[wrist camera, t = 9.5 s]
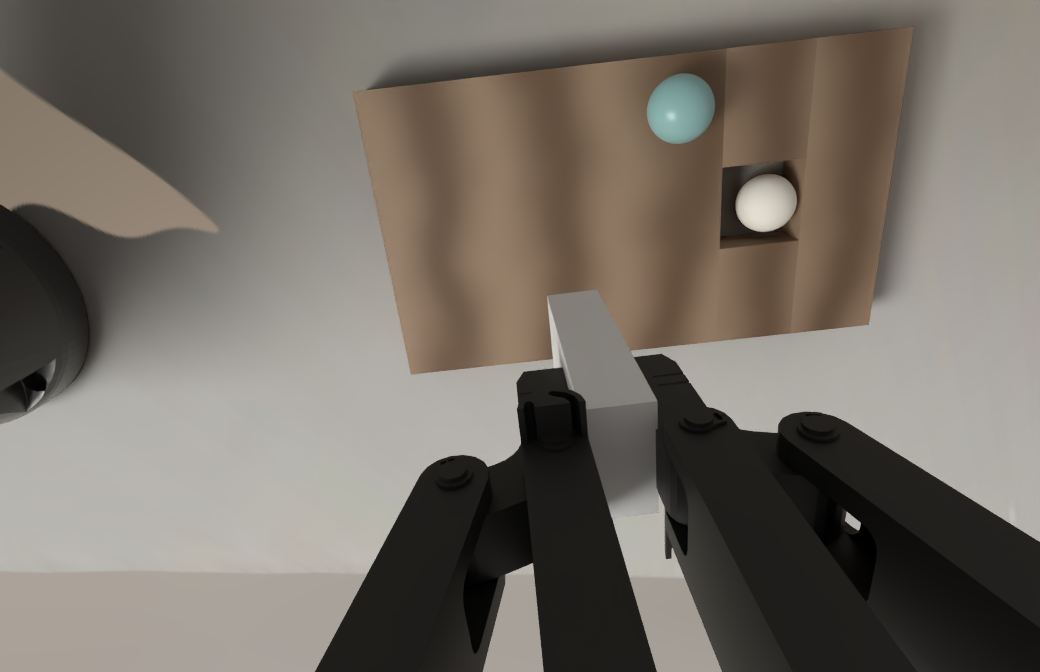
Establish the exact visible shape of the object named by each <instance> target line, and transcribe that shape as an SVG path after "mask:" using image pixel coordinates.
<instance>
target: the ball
mask: <svg viewBox="0 0 1040 672" xmlns="http://www.w3.org/2000/svg"><path fill="white" fill-rule="evenodd" d="M796 205H797V196H796V192H795V189H794V187H793V186H792V184H791V183H790V182H789V181H788V180H787V179H785V178H783V177H781V176H779V175H775V174H763V175H759V176H756V177H754V178H752V179H750V180H749V181H747V182H746V183H745V184H744V185H743V186H742V188H741V189H740V191H739V193H738V195H737V198H736V203H735V208H736V213H737V216H738V218H739V220H740V221H741V222H742V223H743V224H744V225H745V226H746V227H748V228H749V229H752V230H754V231H759V232H768V231H772V230H775V229H778V228H780V227H781V226H783V225H784V224H786V223H787V222H788V221H789V220H790V218H791V217H792V215H793V214H794V211H795V209H796Z"/></svg>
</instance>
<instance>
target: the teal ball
mask: <svg viewBox="0 0 1040 672" xmlns="http://www.w3.org/2000/svg"><path fill="white" fill-rule="evenodd" d="M714 111H715V100H714V95H713V92H712V90H711V88H710V86H709V85H708V84H707V83H706V82H705V81H704V80H703V79H702V78H700V77H698V76H696V75H693V74H687V73H680V74H676V75H673V76H670V77H668V78H666V79H665V80H663V81H662V82H661V83H660V84H659V85H658V86H657V87H656V88H655V89H654V91H653V92H652V94H651V96H650V98H649V101H648V105H647V119H648V123H649V126H650V128H651V130H652V131H653V132H654V134H655V135H656V136H657V137H659V138H660V139H662V140H663V141H665V142H668V143H672V144H683V143H687V142H690V141H692V140H694V139H696V138H698V137H699V136H700V135H701V134H703V133H704V131H705V130H706V129H707V128H708V126H709V125H710V123H711V121H712V118H713V115H714Z"/></svg>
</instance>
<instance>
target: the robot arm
mask: <svg viewBox="0 0 1040 672" xmlns="http://www.w3.org/2000/svg"><path fill="white" fill-rule="evenodd" d="M547 301H548V312H549V322H550V333H551V344H552V354H553V365H554V368H552V369H544V370H536V371H527V372H523V374H522V375H521V377H520V378H519V380H518V381H517V393H518V408H517V413H518V421H519V428H520V436H521V445H520V447H519V449H518V450H517V451H516V452H515V453H514V454H513V455H512V456H511V457H509V458H508V459H506V460H505V461H502V462H500V463H498V464H496V465H493V466H490V467H487V466H486V464H485V463H484V462H483V461H482V460H480V459H478V458H476V457H472V456H466V455H459V456H450V457H447V458H444V459H441V460H438V461H436V462H435V463H433V464H431V465H430V466H428V467H427V468H426V469H425V470H424V472H423V473H422V474H421V475H420V477H419V479H418V481H417V482H416V484H415V486H414V488H413V490H412V492H411V494H410V496H409V497H408V499H407V501H406V503H405V505H404V507H403V509H402V510H401V512H400V514H399V516H398V518H397V520H396V522H395V524H394V525H393V527H392V529H391V531H390V533H389V535H388V537H387V538H386V540H385V542H384V544H383V546H382V548H381V550H380V551H379V553H378V555H377V557H376V559H375V561H374V563H373V565H372V566H371V568H370V570H369V572H368V574H367V576H366V578H365V580H364V581H363V583H362V585H361V587H360V589H359V591H358V593H357V595H356V596H355V598H354V600H353V602H352V604H351V606H350V607H349V609H348V611H347V613H346V615H345V617H344V619H343V621H342V622H341V624H340V626H339V628H338V630H337V632H336V634H335V635H334V637H333V639H332V641H331V643H330V645H329V647H328V649H327V650H326V652H325V654H324V656H323V658H322V660H321V662H320V663H319V665H318V667H317V669H316V671H315V672H483V668H484V664H485V660H486V656H487V652H488V648H489V644H490V640H491V636H492V632H493V629H494V625H495V621H496V617H497V613H498V609H499V605H500V601H501V597H502V593H503V590H504V586H505V574H507V573H510V572H512V571H514V570H517V569H519V568H522V567H524V566H527V565H529V564H531V563H533V566H534V576H535V586H536V596H537V606H538V617H539V627H540V636H541V648H542V658H543V667H544V672H657V671H656V668H655V664H654V661H653V657H652V654H651V651H650V647H649V644H648V640H647V637H646V633H645V630H644V626H643V623H642V620H641V616H640V613H639V610H638V606H637V602H636V599H635V596H634V592H633V589H632V586H631V582H630V579H629V575H628V572H627V568H626V565H625V561H624V558H623V555H622V551H621V548H620V544H619V541H618V537H617V534H616V531H615V527H614V524H613V520H612V518H619V517H628V516H636V515H644V514H653V513H659V498H658V493H659V495H660V497H661V500H662V502H663V504H664V507H665V555H666V559H670V558H671V549H672V547H673V549H674V552H675V555H676V557H677V560H678V562H679V565H680V567H681V570H682V572H683V575H684V577H685V580H686V582H687V585H688V587H689V590H690V592H691V595H692V597H693V599H694V602H695V604H696V607H697V610H698V612H699V615H700V617H701V619H702V622H703V624H704V627H705V629H706V632H707V635H708V637H709V640H710V642H711V645H712V647H713V650H714V652H715V655H716V657H717V660H718V662H719V665H720V667H721V670H722V672H1040V542H1039V541H1037V540H1035V539H1034V538H1032V537H1031V536H1029V535H1027V534H1026V533H1024V532H1023V531H1021V530H1019V529H1018V528H1016V527H1015V526H1013V525H1011V524H1010V523H1008V522H1006V521H1005V520H1003V519H1002V518H1000V517H998V516H997V515H995V514H994V513H992V512H990V511H989V510H987V509H986V508H984V507H982V506H981V505H979V504H978V503H976V502H974V501H973V500H971V499H969V498H968V497H966V496H965V495H963V494H961V493H960V492H958V491H957V490H955V489H953V488H952V487H950V486H949V485H947V484H945V483H944V482H942V481H941V480H939V479H937V478H936V477H934V476H932V475H931V474H929V473H928V472H926V471H924V470H923V469H921V468H920V467H918V466H916V465H915V464H913V463H912V462H910V461H908V460H907V459H905V458H904V457H902V456H900V455H899V454H897V453H895V452H894V451H892V450H891V449H889V448H887V447H886V446H884V445H883V444H881V443H879V442H878V441H876V440H875V439H873V438H871V437H870V436H868V435H867V434H865V433H863V432H862V431H860V430H858V429H857V428H855V427H854V426H852V425H850V424H849V423H847V422H845V421H843V420H841V419H839V418H837V417H834V416H831V415H827V414H823V413H819V412H800V413H793V414H790V415H788V416H786V417H784V418H782V420H781V421H780V423H779V424H778V433H768V432H754V431H747V430H741V429H739V428H738V427H737V426H736V424H735V423H734V421H733V420H732V419H731V418H730V417H729V416H728V415H726V414H725V413H724V412H721V411H719V410H716V409H714V408H709V407H706V405H705V404H704V402H703V401H702V399H701V398H700V396H699V395H698V394H697V392H696V391H695V389H694V388H693V386H692V385H691V383H689V381H688V379H687V378H686V376H685V375H684V374H683V372H682V370H681V369H680V367H679V366H678V365H677V363H676V362H675V361H673V360H671V359H669V358H668V357H666V356H664V355H662V354H657V355H649V356H640V357H633V355H632V353H631V351H630V350H629V348H628V346H627V344H626V342H625V340H624V339H623V337H622V335H621V333H620V331H619V329H618V327H617V326H616V324H615V322H614V320H613V318H612V316H611V315H610V313H609V311H608V309H607V307H606V305H605V304H604V302H603V300H602V298H601V296H600V294H599V293H598V291H597V290H589V291H581V292H573V293H564V294H556V295H548V296H547ZM88 338H89V330H88V320H87V314H86V310H85V306H84V303H83V300H82V297H81V294H80V292H79V289H78V287H77V285H76V283H75V281H74V279H73V277H72V276H71V274H70V272H69V271H68V269H67V267H66V266H65V264H64V263H63V262H62V260H61V259H60V257H59V256H58V255H57V254H56V252H55V251H54V250H53V249H52V248H51V246H50V245H49V244H48V243H47V242H46V241H45V240H44V239H43V238H42V237H41V236H40V235H39V234H38V233H37V232H36V231H35V230H34V229H33V228H32V227H30V226H29V225H28V224H27V223H26V222H25V221H23V220H22V219H21V218H19V217H18V216H17V215H15V214H14V213H12V212H11V211H10V210H8V209H7V208H5V207H3V206H2V205H0V424H3V423H6V422H9V421H12V420H15V419H17V418H20V417H22V416H24V415H26V414H28V413H30V412H32V411H33V410H35V409H37V408H38V407H40V406H41V405H43V404H44V403H46V402H47V401H49V400H50V399H52V398H53V397H55V396H56V395H58V394H59V393H60V392H62V391H63V390H64V389H65V388H66V387H67V386H68V385H69V384H70V383H71V382H72V381H73V380H74V378H75V377H76V376H77V374H78V372H79V371H80V369H81V367H82V365H83V362H84V359H85V356H86V353H87V348H88ZM846 511H847V512H848V513H850V514H851V515H852V516H853V517H855V518H856V519H857V520H858V521H860V522H861V526H860V530H859V531H858V530H856V529H855V528H853V527H852V526H850V525H849V524H848V523H847V522H845V517H846Z"/></svg>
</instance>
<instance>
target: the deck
mask: <svg viewBox="0 0 1040 672" xmlns="http://www.w3.org/2000/svg"><path fill="white" fill-rule="evenodd" d="M913 30H914V26H913V27H905V28H896V29H888V30H879V31H870V32H862V33H853V34H845V35H836V36H827V37H819V38H810V39H802V40H793V41H784V42H776V43H767V44H759V45H750V46H742V47H733V48H724V49H716V50H707V51H699V52H690V53H681V54H673V55H664V56H656V57H647V58H638V59H630V60H621V61H613V62H604V63H596V64H587V65H578V66H570V67H561V68H553V69H544V70H535V71H527V72H518V73H510V74H501V75H492V76H484V77H475V78H467V79H458V80H450V81H441V82H432V83H424V84H415V85H407V86H398V87H389V88H381V89H372V90H364V91H355V92H353V95H354V100H355V105H356V110H357V114H358V119H359V124H360V129H361V134H362V139H363V144H364V148H365V153H366V158H367V163H368V168H369V173H370V178H371V182H372V187H373V192H374V197H375V202H376V207H377V212H378V216H379V221H380V226H381V231H382V236H383V241H384V246H385V250H386V255H387V260H388V265H389V270H390V275H391V280H392V284H393V289H394V294H395V299H396V304H397V309H398V313H399V318H400V323H401V328H402V333H403V338H404V343H405V347H406V352H407V357H408V362H409V367H410V372H411V374H418V373H428V372H437V371H446V370H455V369H465V368H474V367H483V366H492V365H502V364H511V363H520V362H529V361H538V360H548V359H553V354H552V344H551V333H550V322H549V312H548V301H547V296H548V295H556V294H564V293H573V292H581V291H589V290H597V291H598V293H599V294H600V296H601V298H602V300H603V302H604V304H605V305H606V307H607V309H608V311H609V313H610V315H611V316H612V318H613V320H614V322H615V324H616V326H617V327H618V329H619V331H620V333H621V335H622V337H623V339H624V340H625V342H626V344H627V346H628V348H629V350H630V351H631V350H640V349H649V348H658V347H668V346H677V345H686V344H695V343H705V342H714V341H723V340H732V339H742V338H751V337H760V336H769V335H778V334H788V333H797V332H806V331H815V330H825V329H834V328H843V327H852V326H862V325H869V320H870V313H871V307H872V300H873V294H874V287H875V281H876V274H877V267H878V261H879V254H880V248H881V241H882V234H883V228H884V221H885V215H886V208H887V201H888V195H889V188H890V182H891V175H892V169H893V162H894V155H895V149H896V142H897V136H898V129H899V122H900V116H901V109H902V103H903V96H904V89H905V83H906V76H907V70H908V63H909V57H910V50H911V43H912V37H913ZM680 73H687V74H693V75H696V76H698V77H700V78H702V79H703V80H704V81H705V82H706V83H707V84H708V85H709V86H710V88H711V90H712V92H713V95H714V100H715V111H714V115H713V118H712V121H711V123H710V125H709V126H708V128H707V129H706V130H705V131H704V133H703V134H701V135H700V136H699V137H698V138H696V139H694V140H692V141H690V142H687V143H683V144H672V143H668V142H665V141H663V140H662V139H660V138H659V137H657V136H656V135H655V134H654V132H653V131H652V130H651V128H650V126H649V123H648V119H647V105H648V101H649V98H650V96H651V94H652V92H653V91H654V89H655V88H656V87H657V86H658V85H659V84H660V83H661V82H662V81H663V80H665V79H666V78H668V77H670V76H673V75H676V74H680ZM777 161H784V172H783V178H785V179H787V180H788V181H789V182H790V183H791V184H792V186H793V187H794V189H795V192H796V196H797V205H796V209H795V211H794V214H793V215H792V217H791V218H790V220H789V221H788V222H787V223H786V224H784V225H783V226H781V227H780V228H779V231H772V232H763V233H754V234H745V235H736V236H727V237H720V222H721V194H722V168H724V167H733V166H742V165H751V164H759V163H768V162H777Z"/></svg>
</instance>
